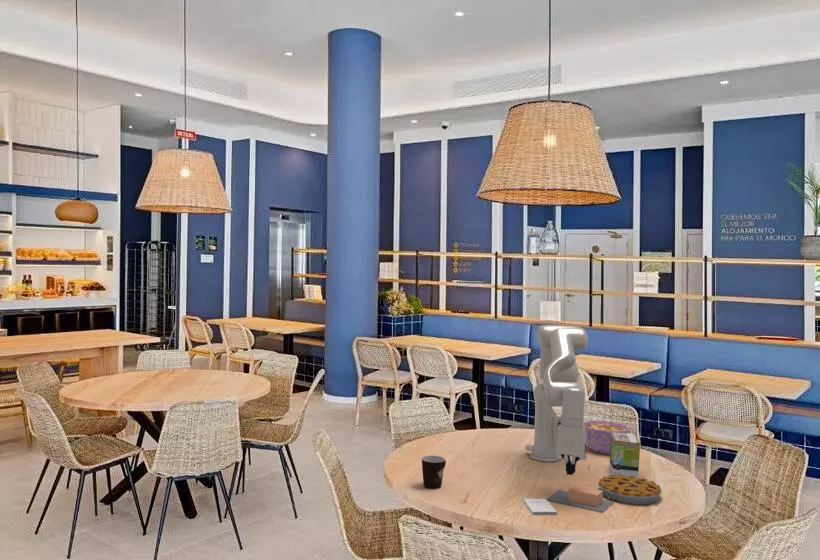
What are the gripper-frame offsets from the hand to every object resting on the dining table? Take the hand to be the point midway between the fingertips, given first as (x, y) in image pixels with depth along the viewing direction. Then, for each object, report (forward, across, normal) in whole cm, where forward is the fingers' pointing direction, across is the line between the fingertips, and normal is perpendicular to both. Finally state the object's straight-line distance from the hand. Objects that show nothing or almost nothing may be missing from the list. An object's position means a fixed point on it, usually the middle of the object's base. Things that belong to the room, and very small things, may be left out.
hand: (570, 473), depth 240 cm
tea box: (+9, +7, +43) cm, 44 cm away
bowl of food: (+10, -9, +70) cm, 71 cm away
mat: (+9, +4, 0) cm, 10 cm away
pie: (+9, +16, +18) cm, 26 cm away
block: (+6, +1, 0) cm, 6 cm away
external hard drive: (+10, -5, -15) cm, 18 cm away
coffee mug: (+9, -44, -17) cm, 48 cm away
